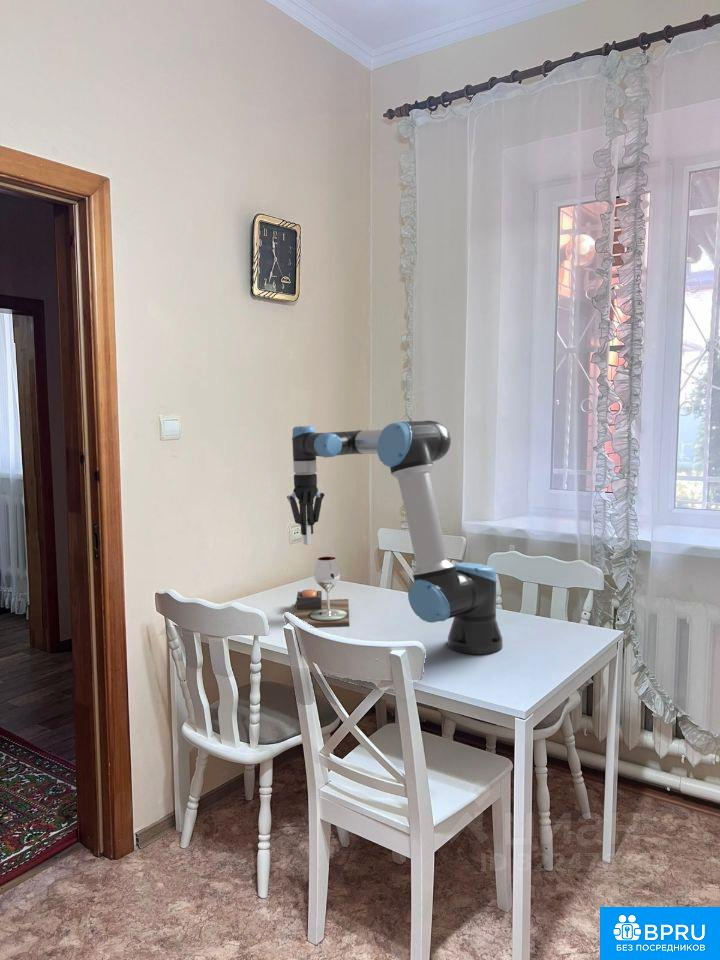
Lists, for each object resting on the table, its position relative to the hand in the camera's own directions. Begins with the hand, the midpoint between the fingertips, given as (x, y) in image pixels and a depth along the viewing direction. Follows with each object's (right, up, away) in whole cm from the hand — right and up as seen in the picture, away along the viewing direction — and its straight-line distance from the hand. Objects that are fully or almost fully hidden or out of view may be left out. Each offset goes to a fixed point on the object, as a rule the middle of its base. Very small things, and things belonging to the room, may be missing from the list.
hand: (307, 544), depth 237 cm
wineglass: (+7, -22, -8) cm, 24 cm away
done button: (0, -19, +2) cm, 19 cm away
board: (+5, -23, -3) cm, 23 cm away
